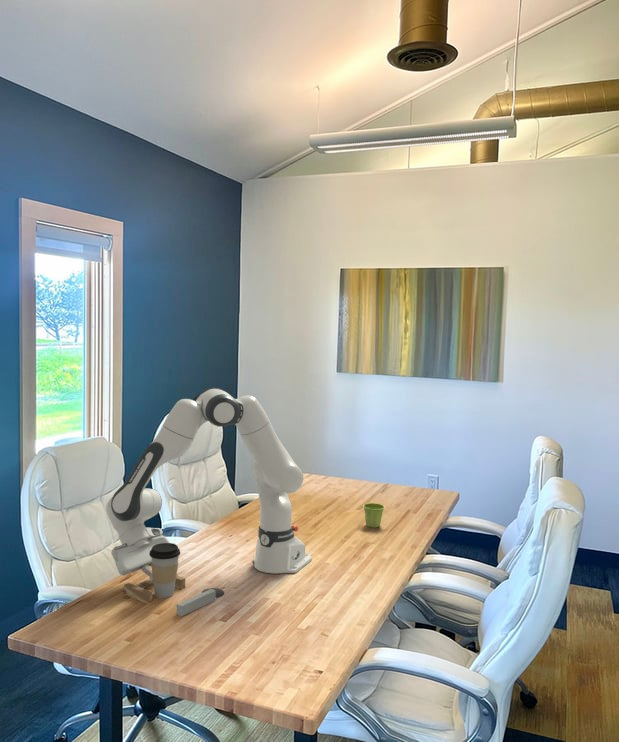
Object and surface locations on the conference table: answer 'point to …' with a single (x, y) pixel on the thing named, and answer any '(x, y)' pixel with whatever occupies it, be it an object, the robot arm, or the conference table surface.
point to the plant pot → (373, 514)
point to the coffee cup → (164, 568)
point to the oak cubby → (144, 594)
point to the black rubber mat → (218, 592)
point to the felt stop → (196, 602)
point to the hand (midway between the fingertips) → (155, 577)
